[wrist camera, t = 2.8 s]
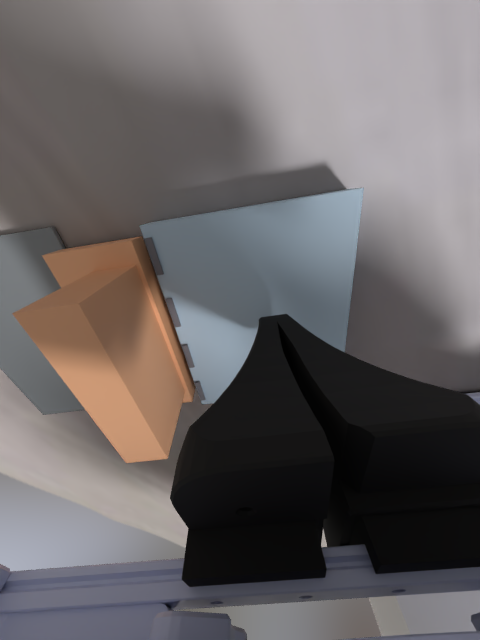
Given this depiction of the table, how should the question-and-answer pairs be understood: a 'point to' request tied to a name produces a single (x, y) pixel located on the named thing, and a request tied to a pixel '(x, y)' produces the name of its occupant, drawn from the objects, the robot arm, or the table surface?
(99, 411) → the stub
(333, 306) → the light blue notched panel
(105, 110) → the table surface
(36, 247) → the pad
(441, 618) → the tall white rectangular box
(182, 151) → the table surface
